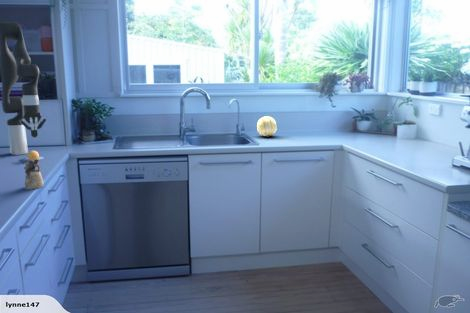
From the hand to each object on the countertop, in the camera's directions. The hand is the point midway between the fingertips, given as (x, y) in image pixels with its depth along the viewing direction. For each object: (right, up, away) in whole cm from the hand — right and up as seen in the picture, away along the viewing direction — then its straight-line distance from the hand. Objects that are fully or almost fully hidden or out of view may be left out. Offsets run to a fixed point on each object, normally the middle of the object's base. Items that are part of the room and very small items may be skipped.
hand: (34, 137), depth 222 cm
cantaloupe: (+128, +4, +87) cm, 155 cm away
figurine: (+20, -23, -42) cm, 52 cm away
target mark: (-8, -12, +13) cm, 19 cm away
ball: (-5, -10, +9) cm, 14 cm away
